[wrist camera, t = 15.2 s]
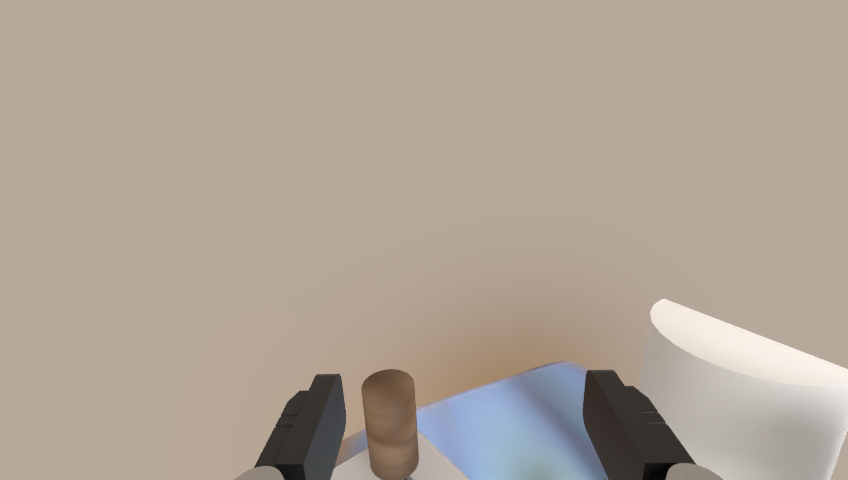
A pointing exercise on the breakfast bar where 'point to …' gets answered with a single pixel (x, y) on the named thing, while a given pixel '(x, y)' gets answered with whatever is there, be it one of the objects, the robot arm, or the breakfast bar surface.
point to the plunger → (391, 424)
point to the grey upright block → (431, 476)
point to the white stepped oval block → (743, 398)
